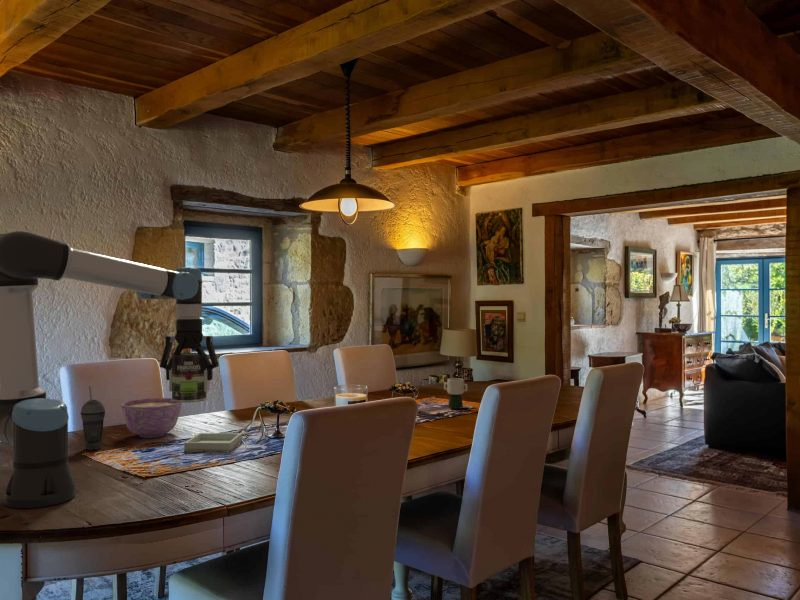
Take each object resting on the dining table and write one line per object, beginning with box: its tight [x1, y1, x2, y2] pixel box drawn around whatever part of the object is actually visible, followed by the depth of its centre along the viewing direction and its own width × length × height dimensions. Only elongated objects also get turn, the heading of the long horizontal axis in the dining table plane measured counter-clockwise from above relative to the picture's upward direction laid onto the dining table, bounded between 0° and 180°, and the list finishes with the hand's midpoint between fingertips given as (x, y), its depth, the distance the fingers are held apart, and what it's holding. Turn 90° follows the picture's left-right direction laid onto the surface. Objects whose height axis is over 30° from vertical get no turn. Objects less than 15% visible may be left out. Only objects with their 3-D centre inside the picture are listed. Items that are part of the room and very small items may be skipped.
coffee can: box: [170, 352, 208, 404], centre depth 200 cm, size 10×10×14 cm
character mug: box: [443, 377, 468, 410], centre depth 283 cm, size 11×7×13 cm, turn 65°
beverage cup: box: [80, 385, 106, 451], centre depth 210 cm, size 7×7×20 cm
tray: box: [183, 432, 243, 453], centre depth 213 cm, size 14×14×3 cm
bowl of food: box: [120, 397, 182, 439], centre depth 230 cm, size 20×20×12 cm
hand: (189, 390), depth 200 cm, fingers closed on coffee can, 10 cm apart
